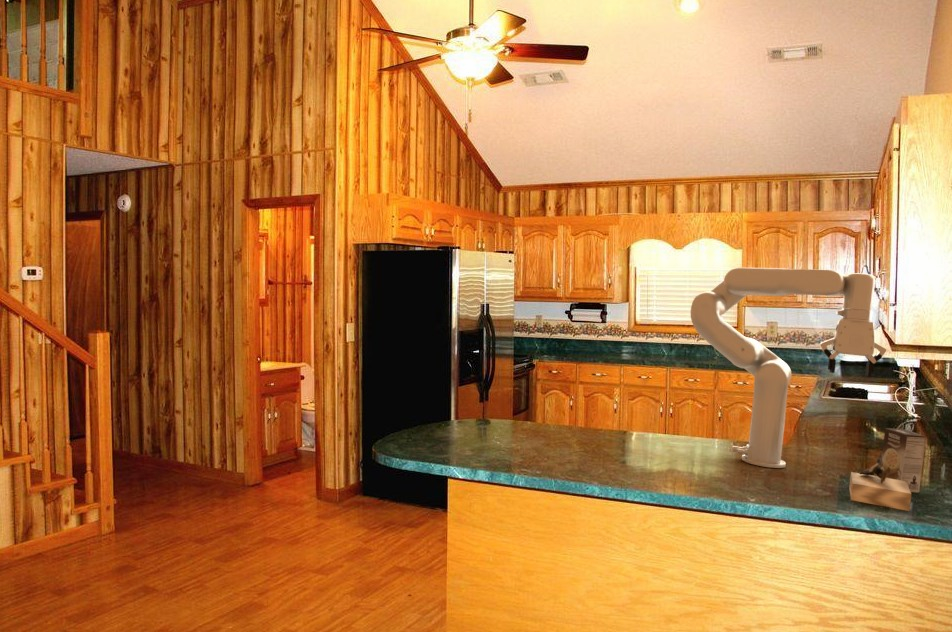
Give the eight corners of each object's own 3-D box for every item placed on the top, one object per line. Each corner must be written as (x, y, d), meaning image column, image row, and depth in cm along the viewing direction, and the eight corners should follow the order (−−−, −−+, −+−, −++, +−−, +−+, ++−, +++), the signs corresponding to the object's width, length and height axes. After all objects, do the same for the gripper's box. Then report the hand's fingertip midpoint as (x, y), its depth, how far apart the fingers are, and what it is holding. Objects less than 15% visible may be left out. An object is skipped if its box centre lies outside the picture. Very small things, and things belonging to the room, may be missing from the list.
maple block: (850, 502, 182) (852, 483, 182) (848, 489, 196) (850, 471, 196) (909, 513, 177) (911, 493, 176) (903, 499, 190) (905, 481, 190)
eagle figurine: (904, 481, 184) (886, 466, 193) (894, 459, 183) (876, 444, 191) (876, 493, 185) (859, 478, 194) (866, 471, 184) (849, 456, 192)
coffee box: (877, 482, 205) (883, 427, 204) (897, 483, 206) (904, 428, 205) (899, 491, 196) (905, 434, 195) (920, 493, 197) (927, 435, 196)
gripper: (826, 313, 204) (820, 372, 205) (893, 319, 200) (886, 379, 200) (821, 313, 211) (814, 369, 212) (885, 318, 207) (878, 376, 208)
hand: (849, 374), depth 206 cm, fingers open, 9 cm apart
